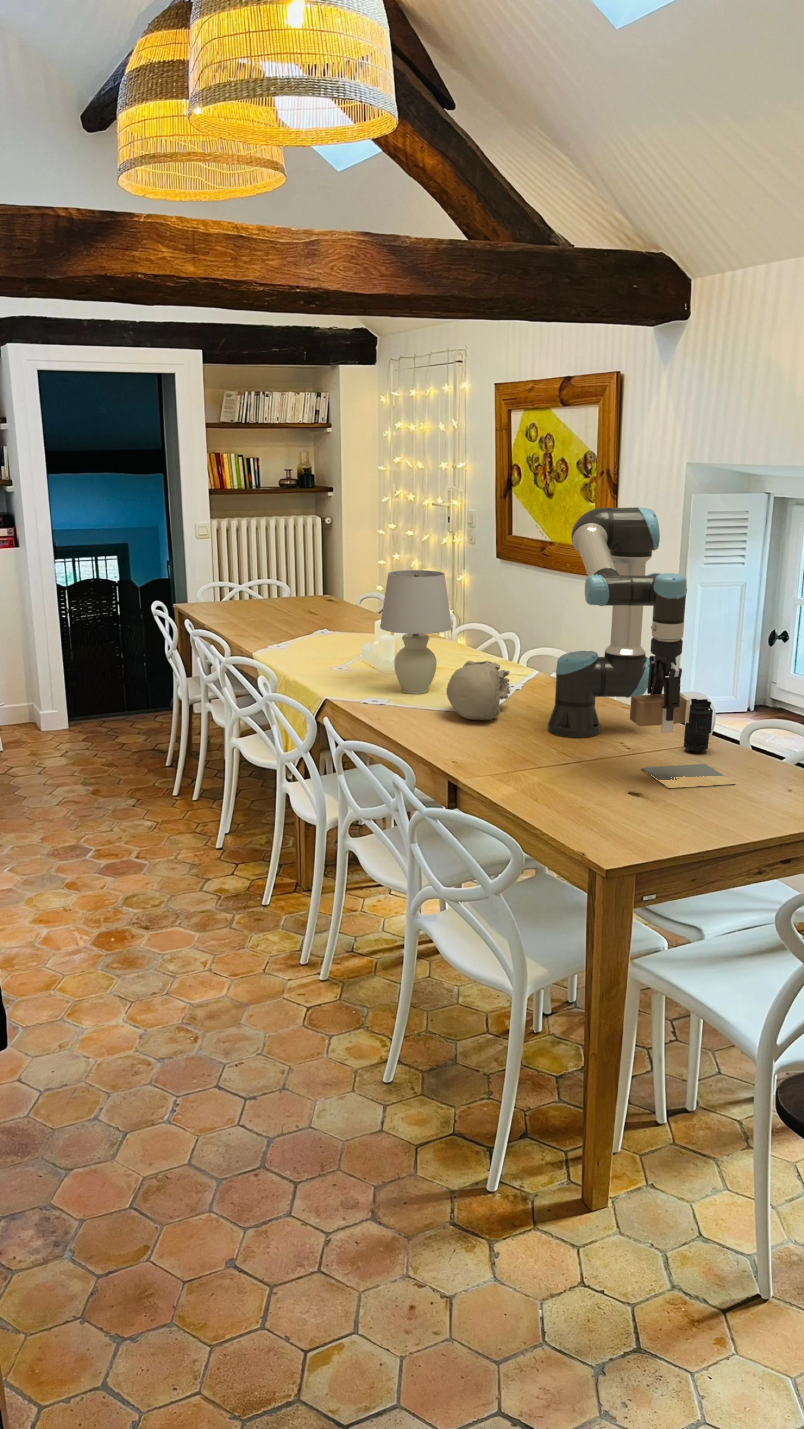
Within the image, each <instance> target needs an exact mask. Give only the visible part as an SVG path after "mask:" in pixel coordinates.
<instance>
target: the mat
mask: <svg viewBox="0 0 804 1429" xmlns="http://www.w3.org/2000/svg"><path fill="white" fill-rule="evenodd" d="M642 770H644V771H645V772H647V773H648V774H650V775H652V776H654V777H655V778H657V779H658V780H671V779H672V780H674V777H675V780H677V779H676V777H683V776H685V777H696V776H697V777H699V776H701V777H702V776H705V777H706V776H723V775H724V774H723V773H721V772H719V771H718V770H716V769H715V768H712V767H711V766H710V765H708V764H706V763H701V764H699V763H698V764H695V763H694V764H683V765H681V764H680V765H665V766H663V765H662V766H648V767H641V771H642ZM644 771H643V772H644ZM645 772H644V773H645ZM647 773H646V774H647ZM648 774H647V775H648ZM671 777H672V778H671ZM678 779H679V778H678Z"/></svg>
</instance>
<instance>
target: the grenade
mask: <svg viewBox="0 0 804 1429" xmlns="http://www.w3.org/2000/svg"><path fill="white" fill-rule="evenodd" d="M690 700H691V701H690V713H689V723H684V733H683V736H684V738H683V742H684V743H683V747H684V748H685V750H687V751H688V753H689V754H690V753H691V754H703V752H704V751H706V750H707V749H708V748H709V741H710V740H709V738H710V734H711V733H712V724H713V714H714V710H713V709H712V707H711V706H712V702H711V701H709V700H708V698H703V699H697V698H690Z"/></svg>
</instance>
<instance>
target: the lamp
mask: <svg viewBox="0 0 804 1429" xmlns="http://www.w3.org/2000/svg"><path fill="white" fill-rule="evenodd" d="M449 605H450V604H449V598H448V589H447V582H446V573H445V572H441V571H437V570H427V569H426V570H425V569H405V570H404V569H403V570H401V569H400V570H393V571H390V572H388V573H387V579H386V587H385V592H384V599H383V605H382V613H381V619H380V625H379V627H380V630H382V631H386V632H390V633H396V634H403V635H402V637H401V639H402V642H403V644H404V647H402V648H401V649H400V650H399V651H397V653H396V654H395V657H394V662H393V664H394V670H395V675H396V678H397V682H398V683H399V686H400V687H401V691H402V693H405V694H409V695H421V694H422V695H423V694H426V693H427V692H429V688H430V686H431V685H432V682H433V681H434V680H433V679H434V677H435V675H436V670H437V658H436V655H435V653H434V652H433V651H432V650H431V649H430V648H429V647H428V642H429V640H430V636H429V635H430V634H439V633H445V632H448V631H450V630H452V628H453V627H452V621H451V614H450V606H449Z"/></svg>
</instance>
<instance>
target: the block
mask: <svg viewBox="0 0 804 1429" xmlns="http://www.w3.org/2000/svg"><path fill="white" fill-rule="evenodd" d="M690 705H691V698H689V697H687V696H685V695H684V694H683V693H681V692H680V706H679V707H676V708H674V720H673V725H675V724H685V723H689V713H690ZM662 706H665V702H664V693H662V694H654V695H650V694H643V695H641V696H631V697H630V710H629V720H631V722H633V723H634V724H635V725H637V726H638V727H639V728H641V727H649V726H650V727H652V726H662V712H663V708H662Z"/></svg>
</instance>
